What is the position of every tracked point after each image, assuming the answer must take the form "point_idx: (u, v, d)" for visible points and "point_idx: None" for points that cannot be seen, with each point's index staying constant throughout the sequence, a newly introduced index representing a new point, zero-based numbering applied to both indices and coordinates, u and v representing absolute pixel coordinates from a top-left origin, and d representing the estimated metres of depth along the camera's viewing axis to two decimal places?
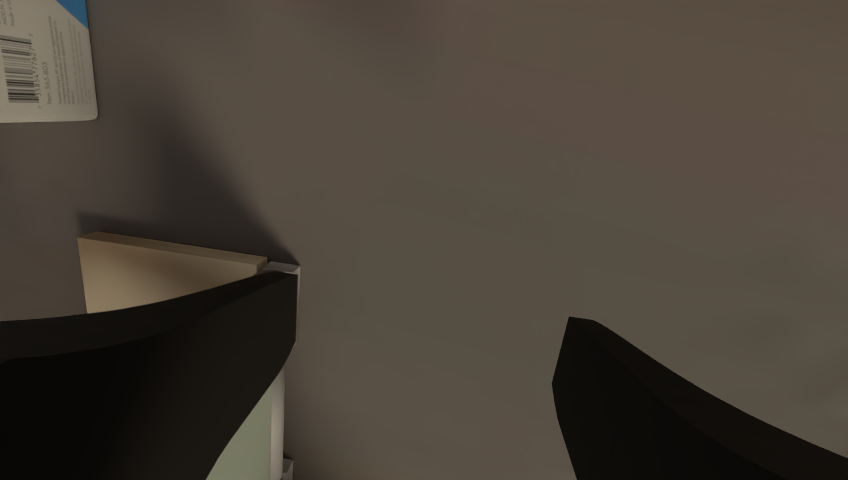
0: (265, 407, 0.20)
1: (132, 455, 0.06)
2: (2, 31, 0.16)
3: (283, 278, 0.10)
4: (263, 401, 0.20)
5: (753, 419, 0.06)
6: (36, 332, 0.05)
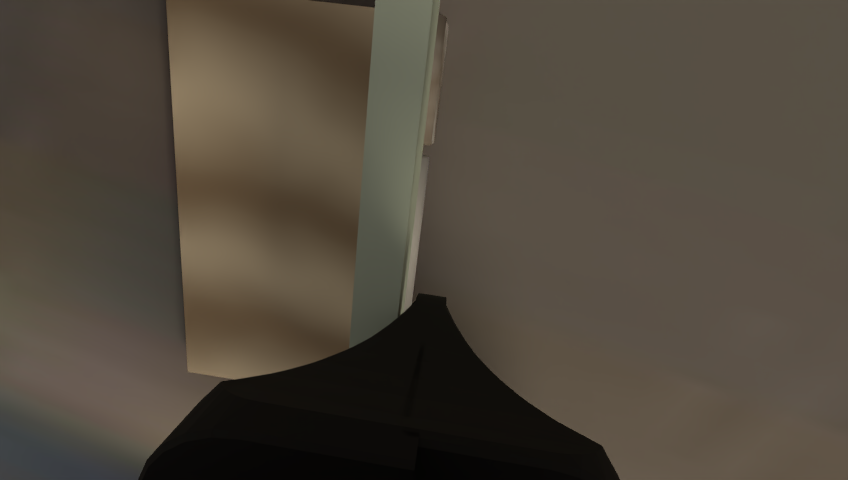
0: None
1: None
2: None
3: (445, 303, 0.10)
4: (419, 175, 0.15)
5: (489, 376, 0.06)
6: (340, 383, 0.05)
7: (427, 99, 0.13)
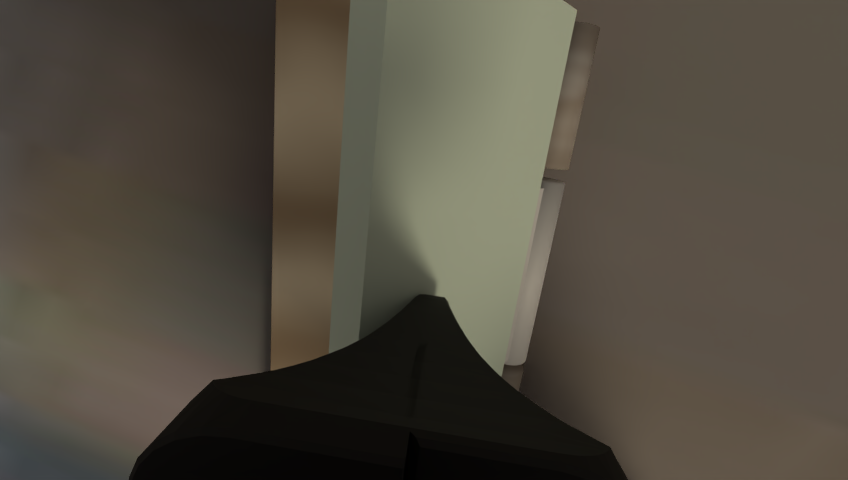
0: (526, 215, 0.14)
1: None
2: None
3: (441, 303, 0.10)
4: (525, 198, 0.14)
5: (494, 377, 0.06)
6: (333, 382, 0.05)
7: (522, 113, 0.12)
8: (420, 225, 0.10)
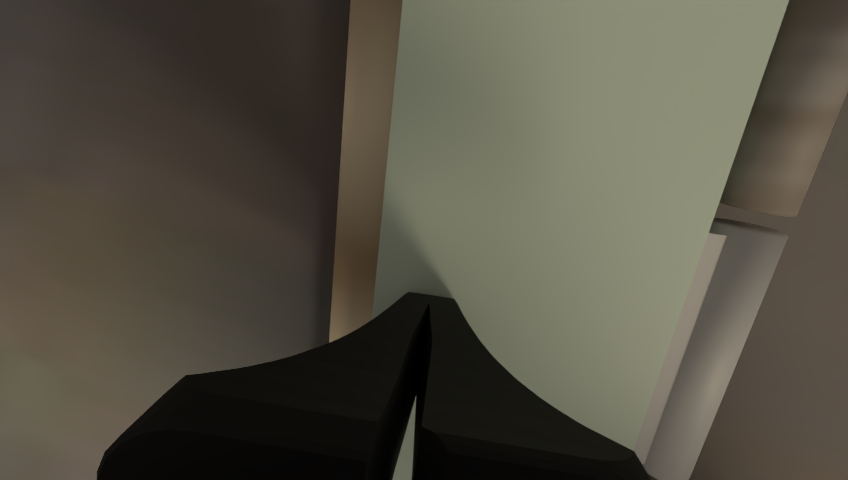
0: (670, 262, 0.10)
1: None
2: None
3: (428, 300, 0.10)
4: (665, 238, 0.10)
5: (510, 379, 0.06)
6: (309, 378, 0.05)
7: (642, 121, 0.09)
8: (449, 218, 0.10)
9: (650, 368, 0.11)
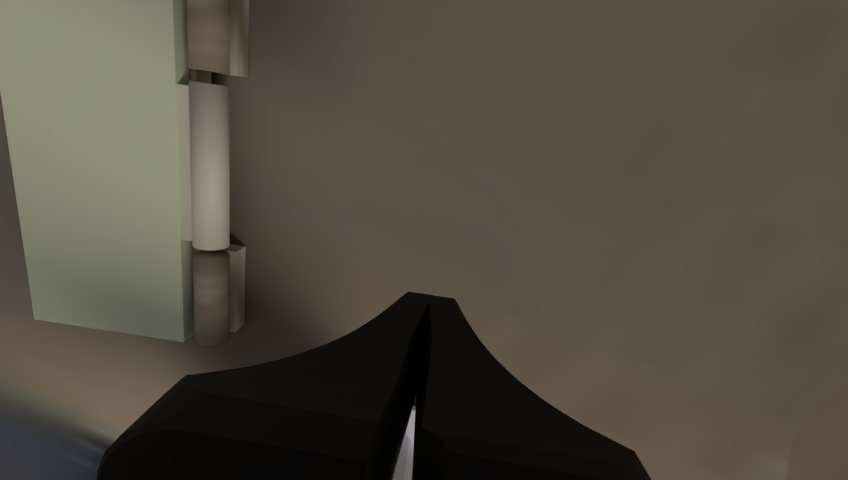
0: (161, 101, 0.18)
1: None
2: None
3: (428, 300, 0.10)
4: (154, 86, 0.18)
5: (510, 379, 0.06)
6: (309, 378, 0.05)
7: (119, 15, 0.17)
8: (34, 74, 0.18)
9: (172, 172, 0.19)
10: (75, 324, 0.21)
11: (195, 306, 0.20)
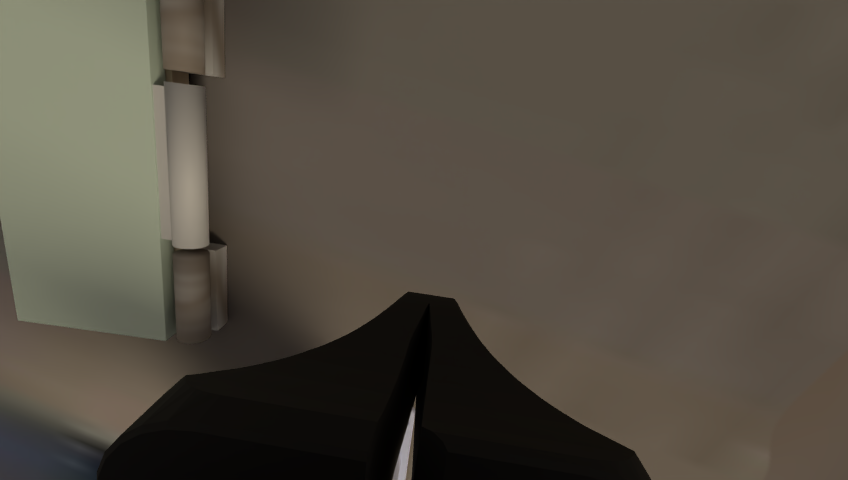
0: (137, 102, 0.18)
1: None
2: None
3: (428, 301, 0.10)
4: (129, 87, 0.18)
5: (510, 379, 0.06)
6: (309, 378, 0.05)
7: (94, 18, 0.17)
8: (12, 77, 0.18)
9: (150, 171, 0.19)
10: (58, 324, 0.21)
11: (176, 305, 0.21)
